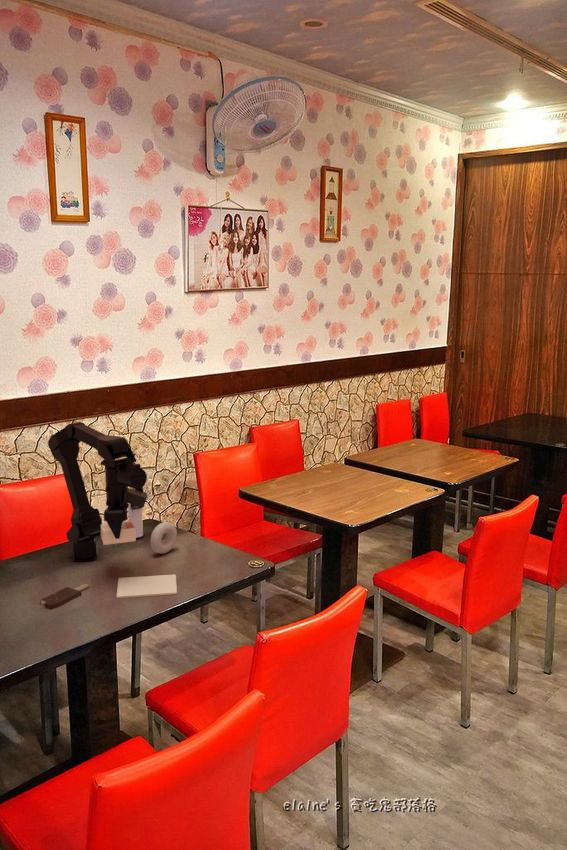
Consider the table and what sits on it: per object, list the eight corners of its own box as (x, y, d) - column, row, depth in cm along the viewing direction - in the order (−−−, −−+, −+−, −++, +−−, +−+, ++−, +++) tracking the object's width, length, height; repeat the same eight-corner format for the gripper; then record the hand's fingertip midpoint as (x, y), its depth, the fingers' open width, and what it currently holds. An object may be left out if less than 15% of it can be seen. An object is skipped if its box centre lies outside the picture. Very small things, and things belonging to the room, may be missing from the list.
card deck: (103, 544, 199) (102, 531, 199) (101, 537, 205) (100, 524, 204) (135, 541, 203) (135, 527, 202) (132, 534, 208) (132, 520, 207)
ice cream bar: (80, 585, 198) (38, 606, 185) (80, 580, 198) (37, 600, 185) (94, 589, 195) (52, 611, 183) (94, 584, 195) (51, 605, 182)
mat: (116, 598, 190) (116, 596, 189) (118, 579, 201) (118, 577, 201) (177, 594, 192) (177, 592, 192) (175, 576, 204) (175, 574, 204)
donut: (156, 559, 216) (155, 528, 214) (148, 556, 218) (147, 525, 216) (179, 549, 224) (179, 519, 222) (172, 547, 226) (171, 517, 224)
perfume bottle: (124, 536, 235) (122, 478, 230) (141, 533, 237) (139, 475, 233) (130, 541, 230) (128, 482, 226) (147, 538, 233) (145, 480, 228)
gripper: (144, 490, 193) (146, 544, 196) (145, 472, 211) (147, 522, 214) (102, 492, 191) (105, 546, 194) (107, 473, 209) (109, 523, 212)
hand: (118, 534), depth 203 cm, fingers closed on card deck, 6 cm apart
